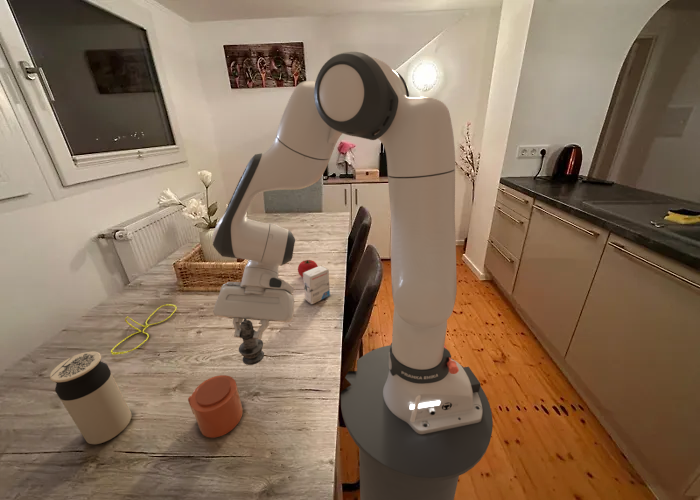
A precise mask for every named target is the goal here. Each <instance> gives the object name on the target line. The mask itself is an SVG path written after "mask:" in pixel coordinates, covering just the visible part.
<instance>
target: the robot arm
mask: <svg viewBox="0 0 700 500" xmlns="http://www.w3.org/2000/svg"><path fill="white" fill-rule="evenodd" d="M453 129H454V128H453V124H452V119H451V114H450V110H449V108H448V106H447V105H446V104H445V103H444V102H443V101H441V100H439V99H437V98H433V97H429V96H420V97H410V91H409V87H408V85H407V83H406V80H405V78H404V77H403V76H402V75H401V74H400V73H399V72H398V71H397V70H395V69H393V68H392V67H391V66H390V65H389V64H387V62H384V61H383V60H381V59H378V58H377V57H373V56H369V55H368V54H366V53H363V52H359V51H344V52H340V53H338V54H336V55H334V56H332V57H331V58H329V59H328V60H327V61H325V63H324V64H323V65H322V66H321V68H320V70H319V71H318V73H317V76H316V79H315V80H304V81H301V82H300V83H298V84H297V85H296V86H295V88H294V89H293V91H292V93H291V95H290V96H289V99H288V100H287V103H286V106H285V107H284V110H283V112H282V115H281V118H280V121H279V124H278V127H277V130H276V134H275V136H274V140H273V142H272V144H271V145H270V146H269V148H267V149H266V150H265V151H263V153H256V154H254V155H253V156H252V157H251V158H250V160H249V161H248V163H247V165H246V167H245V168H244V171H243V172H242V175H241V177H240V178H239V180H238V182H237V184H236V186H235V189H234V191H233V193H232V195H231V198H230V199H229V202H228V203H227V204H228V205H227V207H226V209H225V211H224V213H223V215H222V217H220V219H219V221H217V224H216V225H215V226H214V227H215V228H214V230H213V234H212V246H213V248H214V249H215V250H216V252H217V253H218V254H219V255H220V256H221V257H223V258H231V259H232V258H233V259H241V260H246V261H247V262H246V264H245V266H244V270H243V274H242V276H241V277H242V278H241V281H239V282H238V281H226V283H224V284H222V285H221V287H220V290H219V294H218V296H217V299H216V301H215V303H214V306H213V311H212V313H213V315H214V316H215V317H219V318H224V319H225V318H226V319H232V324H233V328H234V333H233V334H234V335H233V338H238V339H242V338H241V333H242V332H241V328H240V324H241V323H242V322H243V321H244V319H247V320H250V321H251V320H252V321H259V325H260V326H259V328H258V329H257V330H255V331H254V336H253V339H259V340H262V339H263V333H264V332H265V331H266V329H268V327H269V326H270V322H278V323H291V321H292V320H293V319H294V313H295V298H294V296H293V294H294V291H295V288H294V286H293V285H292V284H291V283H289V281H286V280H284V279H282V278H279V273H280V272H279V267H280V266H281V267H282V266H284V265H286V264H287V263H289V262H291V261H292V260H293V256H294V249H295V244H296V238H295V236H294V234H293V233H292V231H291V230H290V229H288V228H286V227H283V226H280V225H278V224H276V223H274V222H262V221H259V220H254V219H250V218H248V217H246V215H247V213H248V211H249V209H250V207H251V205H252V203H253V201H254V199H255V198H256V197H257V196H258V195H259V194H261V193H264V192H271V191H281V190H283V191H286V190H288V191H294V190H295V191H296V190H301V189H305V188H309V187H310V186H312V185H314V184H316V183H318V182H319V181H320V179H322V177H323V175H324V173H325V171H326V169H327V167H328V165H329V163H330V160H331V158H332V156H333V152H334V150H335V147H336V146H337V145H336V144H337V143H338V141H339V139H340V138H341V136H342V135H343V134H344V135H346V136H351V137H356V138H361V139H366V140H369V141H376V140H379V141H380V142H381V144H382V145H383V148H384V151H385V156H386V157H385V158H386V165H387V166H386V170H387V183H388V197H389V211H390V273H391V275H390V276H391V293H392V301H393V306H394V308H393V315H392V333H391V334H392V336H391V343H390V345H391V346H390V352H389V369H390V370H389V375H388V378H387V381H386V383H385V385H384V388H383V397H384V400H385V403H386V405H387V407H388V408H389V409H390V411H391V412H392V413H393V414H394V415H396V416H397V417H398V418H400V419H402V420H404V421H405V422H407V423H408V424H409V425H410V426H411V427H412V428H413V430H414V431H415V432H417V433H418V434H426V433H431V432H436V431H441V430H445V429H450V428H455V427H460V426H465V425H469V424H474V423H478V422H481V419H482V404H481V401H480V398H479V395H478V393H477V392H479V390H480V386H482V384H481V382H480V380H478V379H479V378H477V376H476V375H475V373H474V372H473V371H472V369H471V368H470V366H463V365H462V364H460V363H459V362H458V361H456V360H455V359H453V358H452V355H451V351H450V350H449V349H447V346H446V344H445V341H446V337H447V336H446V335H447V329H448V328H447V327H448V320H449V318H450V317H451V316H452V314H453V311H454V309H455V305H456V300H457V299H456V298H457V292H458V289H457V284H458V283H457V282H458V281H457V245H456V244H457V240H456V239H457V238H456V237H457V236H456V218H455V217H456V215H455V214H456V213H455V212H456V148H455V138H454V130H453ZM452 359H453V360H452ZM461 365H462V366H463V367H462V366H461ZM476 408H477V409H476ZM478 409H479V410H478ZM424 426H427V427H424Z"/></svg>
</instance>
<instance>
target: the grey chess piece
mask: <svg viewBox="0 0 700 500" xmlns="http://www.w3.org/2000/svg"><path fill="white" fill-rule="evenodd" d="M240 328H241V332H242V333H241V338H240V339H242V342H241V344H240V345H239V346H238V352H239V354H240V355H241V356H242V363H243V364H244V365H247V366H253V365H257V364H259V363H260V362H261V361H263V359H264V357H265V352H264V351H263V347H264V341H263V340H262V339H261V340H259V339H253V336H254V331H256V330H255V329H254V324H253V322H252V321H251V319H243V321H242V323H240Z"/></svg>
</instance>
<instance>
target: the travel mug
mask: <svg viewBox="0 0 700 500" xmlns="http://www.w3.org/2000/svg"><path fill="white" fill-rule="evenodd" d="M101 360H102V354H101V353H100V352H98V351H85V352H82V353H78V354H75V355H73V356H70V357H69V358H66V359H65V360H63V361H62V362H60V363H59V364H58V365H57V366H55V367H54V368H53V369H52V370H51V372H50V373H49V380H50V381H51V382H52V383H55V388H54V391H55V393H56V395H57V396H58V398H59V400H60V401H61V403H62V404H63V406H64V408H65V409H66V411H67V412H68V414H69V416H70V417H71V419H72V421H73V422H74V424H75V425H76V427H77V428H78V431H79V432H80V433H81V435H82V437H83V438H84V440H85V442H86V443H87V444H90V445H100V444H102V443H105V442H108V441H110V440H112V439H113V438H115V437H117V436H118V435H119V434H120V433H122V432H123V431H124V430H125V429H126V427H128V425H129V424H130V422H131V420H132V412H131V410H130V408H129V405H128V404H127V401H126V400H125V397H124V395H123V393H122V392H121V390H120V387H119V386H118V383H117V382H116V379H115V377H114V375H113V373H112V371H111V369H110V367H109V365H108V364H107V363H106V362H104V361H101Z"/></svg>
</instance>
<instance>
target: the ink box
mask: <svg viewBox="0 0 700 500" xmlns="http://www.w3.org/2000/svg"><path fill="white" fill-rule="evenodd" d="M317 266H318V267H316V268H313V269H311V270H308V271H306V272H304V273H303V277H302V282H303V288H304V299H305V300H306V302H308V303H309V304H310V305H314V304H316V303H318V302H321V301H322V300H324V299H326V298H328V297H330V296H331V291H330V274H329V269H328V268H327V267H325V266H323V265H317Z"/></svg>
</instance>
